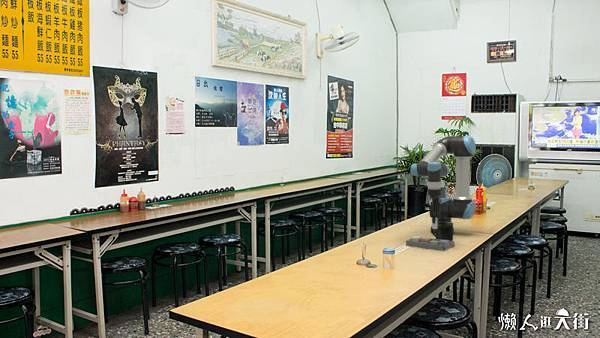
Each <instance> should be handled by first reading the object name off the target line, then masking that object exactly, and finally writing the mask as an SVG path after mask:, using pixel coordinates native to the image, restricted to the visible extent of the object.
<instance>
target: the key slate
mask: <svg viewBox="0 0 600 338" xmlns="http://www.w3.org/2000/svg"><path fill="white" fill-rule="evenodd" d="M448 243H449V240H440V241H439V245H445V244H448Z"/></svg>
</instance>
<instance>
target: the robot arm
mask: <svg viewBox="0 0 600 338" xmlns="http://www.w3.org/2000/svg"><path fill="white" fill-rule="evenodd" d="M476 150H477V148H476V141H475V139H474V137H473V136H469V135H462V136H461V135H460V136H459V135H458V136H457V135H453V136H452V135H451V136H450V135H449V136H445V137H443V138H440V139H438V141H436V142H435V143H434V144H433V145H432V147H431V150H430V151H428V153H427V154H426V155H425V156H424V157H423V158H422V159H421V160H420V161H419V162H418V163H412V164H411V166H410V175H412V176H415V177H427V183H426V184H427V188H428V189H427V195H428V196H429V201H427V205H428V211H429V217H430V218H431V226H432V229H433V232H434V234H435V235H436V229H437V222H452V223H453V221H452V219H462V220H471V219H472V218H473V216H474V214H475V211H476V203H475V201H473V198H472V197H471V196H470V195H471V193H470V191H471V190H470V189H471V188H470V187H471V183H470V182H471V176H470V173H471V169H470V168H471V159H472V158H473V155H475V154H476ZM448 154H449V155H453V158H454V159H455V196H454V197H453V199H452V197H440V196H442V178H444V177H446V176H447V175H448V174H449V173H450V167H449V166H448V164H446V163H441V162H440V161H439V160H440V158H441V157H444V156H445V155H448ZM454 233H455V228H454V227H453V234H454Z"/></svg>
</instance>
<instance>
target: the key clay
mask: <svg viewBox="0 0 600 338" xmlns="http://www.w3.org/2000/svg"><path fill="white" fill-rule="evenodd" d="M422 237H423V236H422ZM431 238H432V237H425V236H424V237H423V238H421V239H420V241H421V242H423V243H426V242H428V241H431Z"/></svg>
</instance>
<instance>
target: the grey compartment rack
mask: <svg viewBox="0 0 600 338" xmlns="http://www.w3.org/2000/svg"><path fill="white" fill-rule="evenodd" d="M421 237H422V238H423V236H421ZM430 238H431V241H432V240H435V241H440V239H436V238H432V237H430ZM405 245H406V247H414V248H422V249H427V250H434V251H442V252H445V251H448V250H449V249H452V248H454V247H455V241H454V240H453V241H449V243H448V244H445V245H439V242H438V243H436V244H431V243H430V241H428V242H426V243H423V242H421V241H420V240H419V241H412V238H410V239H409V238H408V239H407V240H405Z"/></svg>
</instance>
